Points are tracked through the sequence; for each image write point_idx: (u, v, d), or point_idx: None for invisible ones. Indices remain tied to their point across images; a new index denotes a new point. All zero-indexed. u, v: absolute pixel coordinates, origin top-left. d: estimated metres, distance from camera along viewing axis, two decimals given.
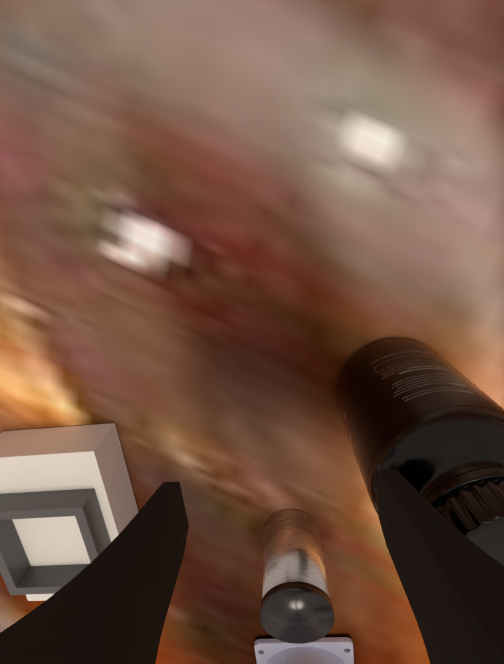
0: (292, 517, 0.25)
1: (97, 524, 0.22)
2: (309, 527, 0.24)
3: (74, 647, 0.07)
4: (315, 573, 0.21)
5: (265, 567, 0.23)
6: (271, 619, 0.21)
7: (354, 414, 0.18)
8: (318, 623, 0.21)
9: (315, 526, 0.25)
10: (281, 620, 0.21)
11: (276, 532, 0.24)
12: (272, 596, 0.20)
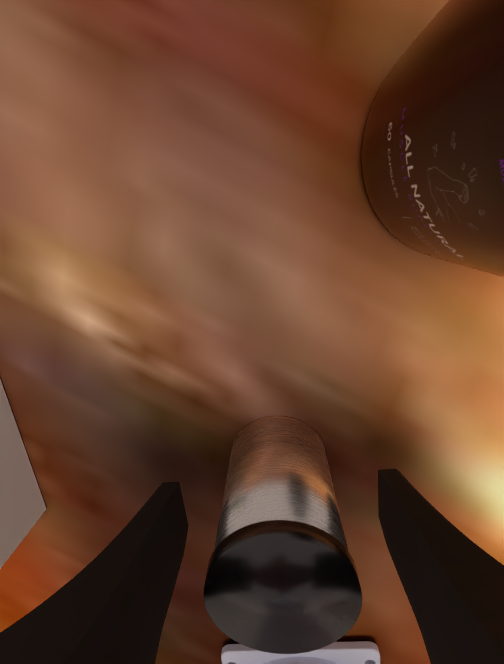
0: (278, 426, 0.14)
1: None
2: (308, 440, 0.14)
3: (74, 647, 0.07)
4: (320, 508, 0.10)
5: (223, 505, 0.12)
6: (227, 602, 0.10)
7: (421, 63, 0.07)
8: (327, 610, 0.10)
9: (319, 443, 0.14)
10: (248, 604, 0.10)
11: (248, 447, 0.13)
12: (227, 551, 0.09)
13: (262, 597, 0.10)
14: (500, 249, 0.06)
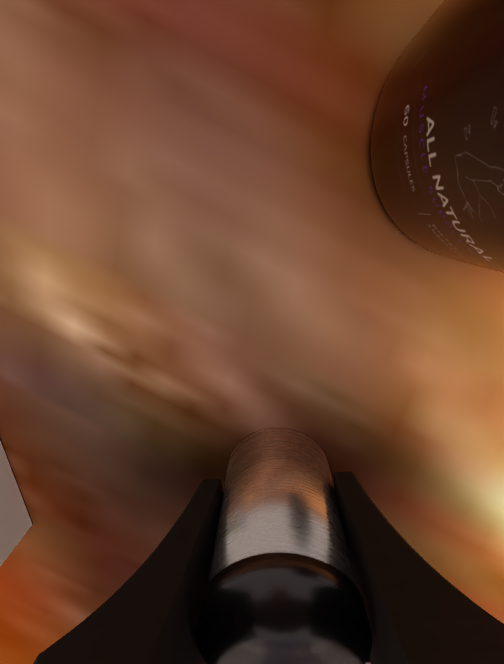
0: (278, 440, 0.13)
1: None
2: (310, 455, 0.13)
3: (152, 646, 0.07)
4: (326, 536, 0.09)
5: (218, 529, 0.11)
6: (221, 643, 0.09)
7: (447, 31, 0.06)
8: (333, 653, 0.09)
9: (322, 458, 0.13)
10: (245, 645, 0.09)
11: (246, 464, 0.12)
12: (222, 588, 0.08)
13: (261, 638, 0.09)
14: None
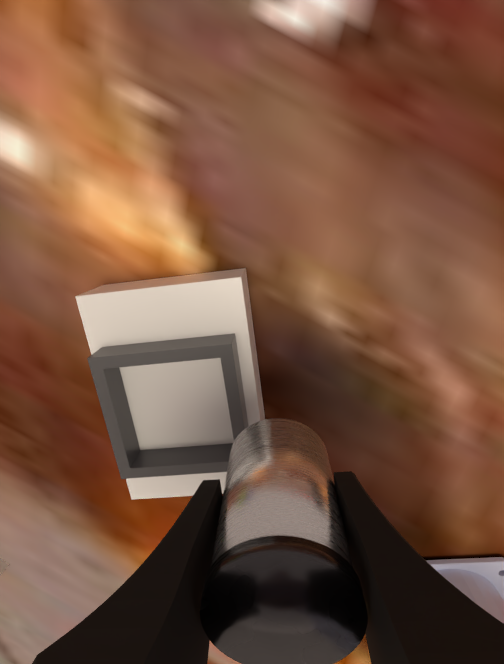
0: (276, 429, 0.13)
1: (239, 379, 0.17)
2: (308, 443, 0.13)
3: (151, 645, 0.07)
4: (321, 519, 0.10)
5: (220, 517, 0.11)
6: (225, 624, 0.09)
7: None
8: (331, 628, 0.09)
9: (320, 445, 0.14)
10: (247, 624, 0.09)
11: (245, 454, 0.13)
12: (222, 571, 0.09)
13: (261, 617, 0.09)
14: None
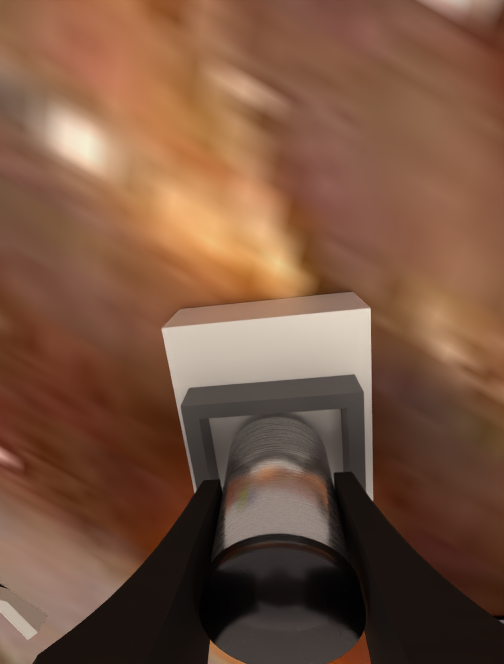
0: (274, 428, 0.13)
1: None
2: (306, 442, 0.13)
3: (151, 646, 0.07)
4: (319, 517, 0.10)
5: (219, 515, 0.11)
6: (224, 621, 0.09)
7: None
8: (330, 626, 0.09)
9: (319, 444, 0.14)
10: (246, 622, 0.09)
11: (244, 453, 0.13)
12: (220, 569, 0.09)
13: (260, 614, 0.09)
14: None
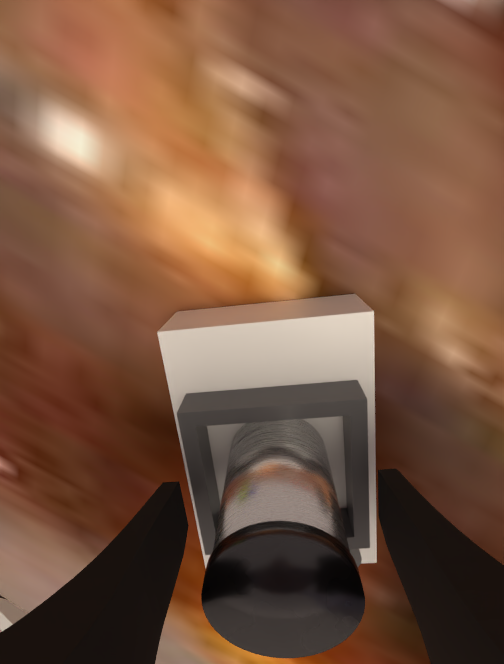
0: (274, 423, 0.14)
1: None
2: (305, 436, 0.13)
3: (73, 647, 0.07)
4: (318, 506, 0.10)
5: (221, 507, 0.11)
6: (226, 608, 0.09)
7: None
8: (330, 612, 0.09)
9: (318, 439, 0.14)
10: (248, 609, 0.09)
11: (245, 447, 0.13)
12: (223, 555, 0.09)
13: (262, 601, 0.09)
14: None
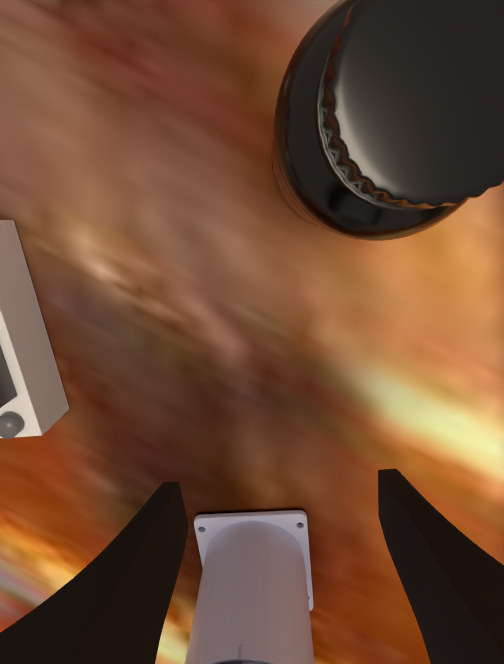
0: None
1: None
2: None
3: (74, 647, 0.07)
4: None
5: None
6: None
7: None
8: None
9: None
10: None
11: None
12: None
13: None
14: (301, 210, 0.13)
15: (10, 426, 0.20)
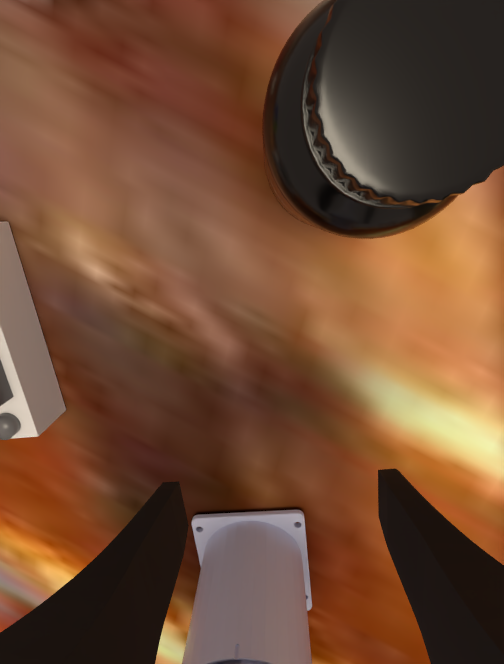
0: None
1: None
2: None
3: (73, 647, 0.07)
4: None
5: None
6: None
7: None
8: None
9: None
10: None
11: None
12: None
13: None
14: (292, 209, 0.13)
15: (6, 427, 0.20)
